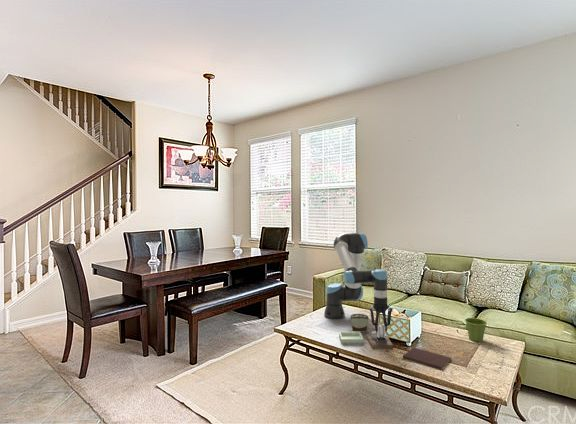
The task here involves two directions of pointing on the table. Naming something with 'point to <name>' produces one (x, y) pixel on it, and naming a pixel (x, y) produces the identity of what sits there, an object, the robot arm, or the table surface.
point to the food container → (359, 322)
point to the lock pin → (381, 332)
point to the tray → (351, 338)
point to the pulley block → (378, 341)
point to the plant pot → (475, 328)
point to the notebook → (427, 358)
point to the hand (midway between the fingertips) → (381, 336)
